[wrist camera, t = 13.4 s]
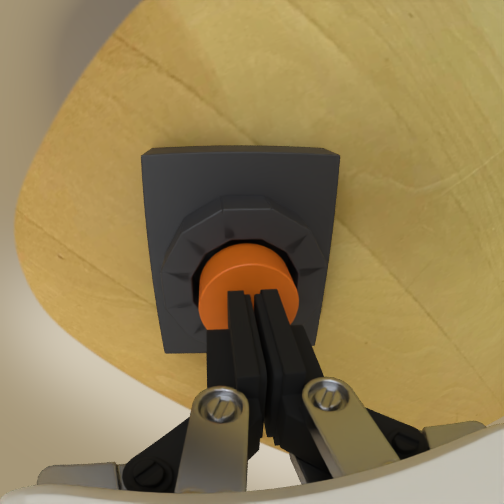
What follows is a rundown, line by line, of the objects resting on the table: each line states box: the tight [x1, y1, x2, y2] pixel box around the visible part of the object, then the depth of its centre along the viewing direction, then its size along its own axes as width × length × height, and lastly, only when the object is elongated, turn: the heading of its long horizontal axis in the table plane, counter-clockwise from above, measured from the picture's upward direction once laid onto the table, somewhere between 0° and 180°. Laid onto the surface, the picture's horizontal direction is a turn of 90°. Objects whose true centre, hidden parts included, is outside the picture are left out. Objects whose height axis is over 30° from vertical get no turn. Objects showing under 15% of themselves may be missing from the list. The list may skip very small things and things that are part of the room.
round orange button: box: [199, 243, 299, 330], centre depth 12 cm, size 4×4×2 cm
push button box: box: [141, 146, 340, 353], centre depth 14 cm, size 10×8×4 cm
